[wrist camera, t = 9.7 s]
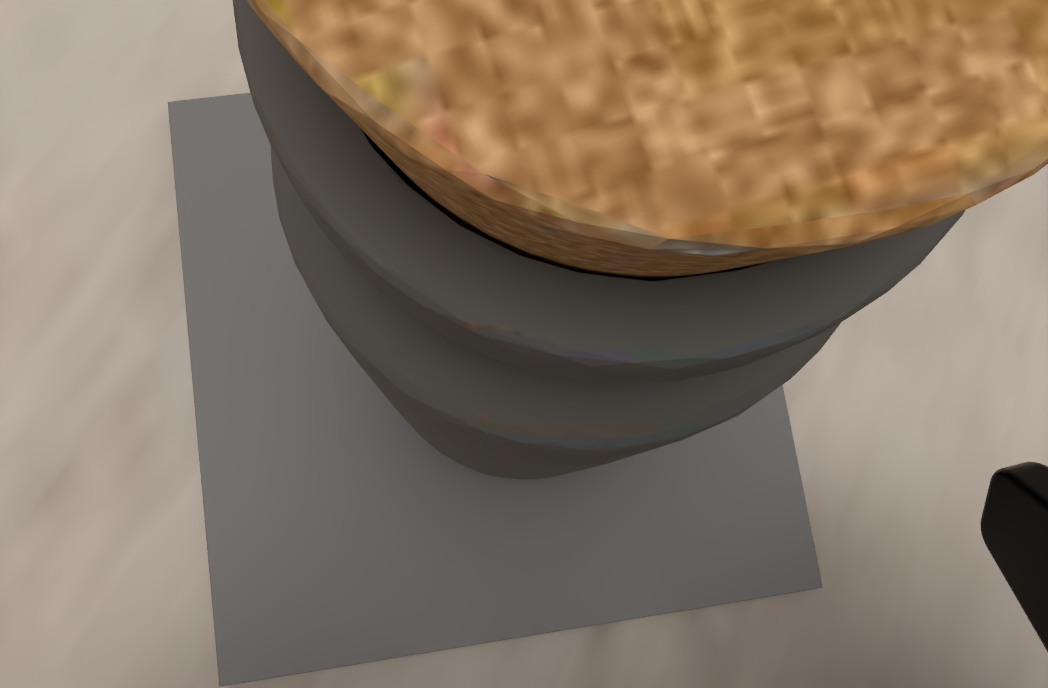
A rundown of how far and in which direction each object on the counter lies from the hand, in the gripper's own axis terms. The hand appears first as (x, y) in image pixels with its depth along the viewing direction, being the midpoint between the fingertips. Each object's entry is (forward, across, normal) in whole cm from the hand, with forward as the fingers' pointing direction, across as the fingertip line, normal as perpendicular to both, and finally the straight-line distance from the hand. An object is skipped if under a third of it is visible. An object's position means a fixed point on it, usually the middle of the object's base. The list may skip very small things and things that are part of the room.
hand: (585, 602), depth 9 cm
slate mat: (+10, 0, +3) cm, 10 cm away
